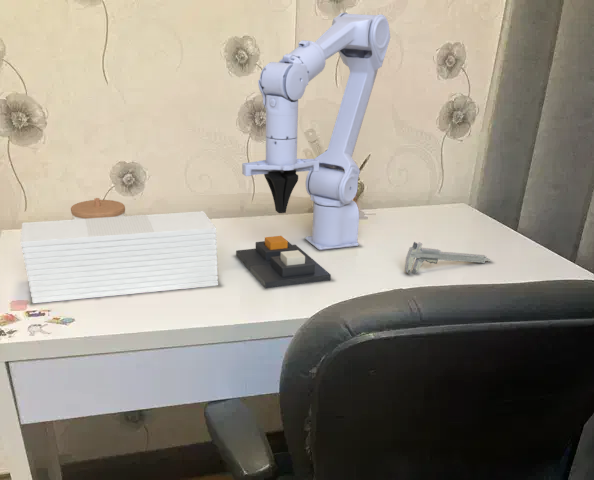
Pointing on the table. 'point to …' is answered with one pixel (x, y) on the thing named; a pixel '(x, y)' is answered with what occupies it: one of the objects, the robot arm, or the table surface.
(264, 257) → the keypad
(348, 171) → the robot arm
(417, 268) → the caliper
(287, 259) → the white key
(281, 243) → the amber key
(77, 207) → the trinket box
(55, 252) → the stack of papers
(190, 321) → the table surface
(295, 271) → the keypad
